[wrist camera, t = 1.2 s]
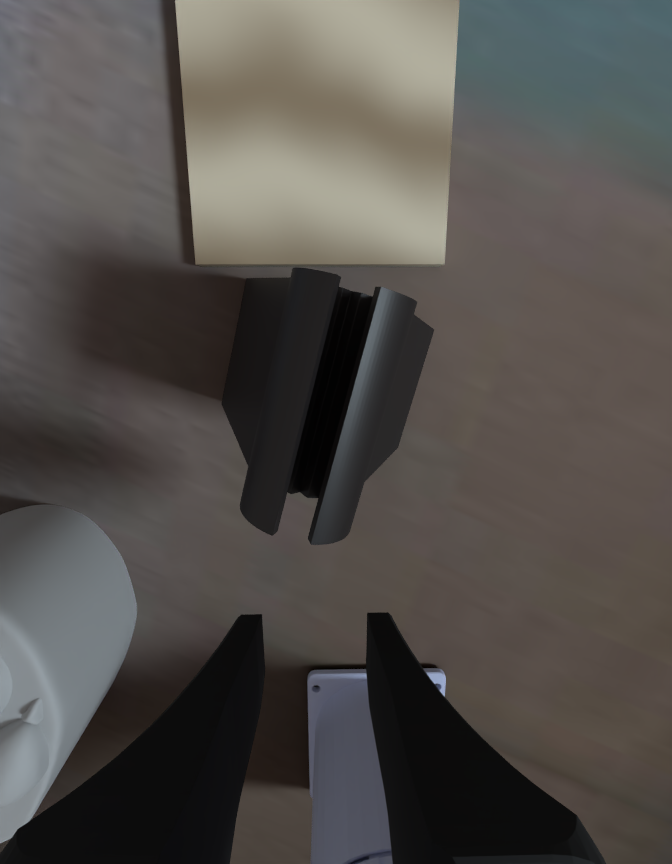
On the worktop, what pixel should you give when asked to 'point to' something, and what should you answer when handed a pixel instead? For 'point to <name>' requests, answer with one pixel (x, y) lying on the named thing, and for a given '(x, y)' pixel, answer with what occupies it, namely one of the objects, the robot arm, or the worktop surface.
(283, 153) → the birch board
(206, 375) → the worktop surface
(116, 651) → the lumpy-topped squat cylinder
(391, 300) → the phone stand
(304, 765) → the worktop surface
